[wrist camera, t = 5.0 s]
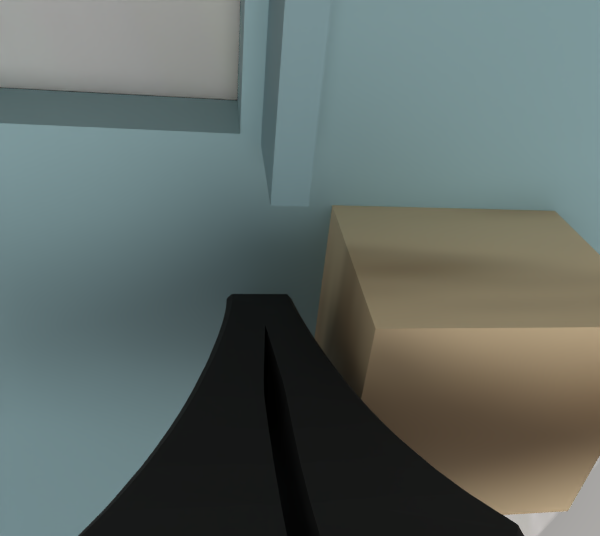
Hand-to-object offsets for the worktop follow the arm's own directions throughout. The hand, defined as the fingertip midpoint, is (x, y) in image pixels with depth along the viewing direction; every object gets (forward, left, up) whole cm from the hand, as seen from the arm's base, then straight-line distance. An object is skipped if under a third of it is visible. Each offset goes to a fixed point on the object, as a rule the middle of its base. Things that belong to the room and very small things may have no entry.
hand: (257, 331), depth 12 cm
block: (0, -4, -1) cm, 4 cm away
